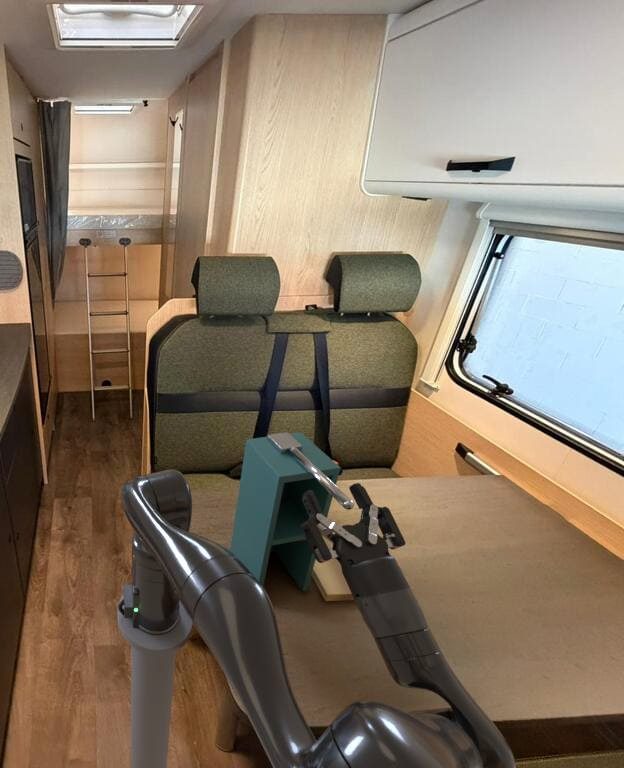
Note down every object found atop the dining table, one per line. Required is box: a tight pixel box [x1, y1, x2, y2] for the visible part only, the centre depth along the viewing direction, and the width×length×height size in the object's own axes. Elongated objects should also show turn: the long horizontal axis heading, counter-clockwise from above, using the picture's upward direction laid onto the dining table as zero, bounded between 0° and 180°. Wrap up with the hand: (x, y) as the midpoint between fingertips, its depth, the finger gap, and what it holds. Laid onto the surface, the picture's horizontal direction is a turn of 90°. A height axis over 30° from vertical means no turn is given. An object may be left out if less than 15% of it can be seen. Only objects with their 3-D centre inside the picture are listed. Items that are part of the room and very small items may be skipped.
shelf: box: [230, 432, 341, 592], centre depth 86 cm, size 12×12×32 cm
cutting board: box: [311, 533, 355, 602], centre depth 94 cm, size 11×19×2 cm, turn 1°
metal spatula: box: [266, 431, 355, 511], centre depth 74 cm, size 21×4×2 cm, turn 11°
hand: (330, 488), depth 69 cm, fingers open, 8 cm apart
